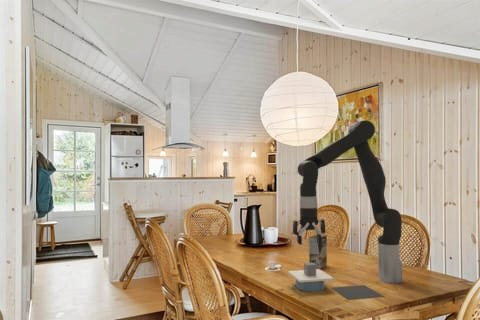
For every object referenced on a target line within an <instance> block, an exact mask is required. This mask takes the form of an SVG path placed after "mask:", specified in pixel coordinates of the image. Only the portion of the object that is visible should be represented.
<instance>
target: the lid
mask: <svg viewBox="0 0 480 320" xmlns="http://www.w3.org/2000/svg"><path fill="white" fill-rule="evenodd" d="M287 274H289V275H290V276H291V277H292V278H294V279H295V281H296V280H297V281H299V282H314V281H324V282H325V281H327V282H328V281H335V278H334V277H333V276H331V275H329V274H327V272H325V271H323V270H322V269H316V265H315V264H314V263H309V262H304V263H303V269H302V270H300V269H299V270H288V271H287Z"/></svg>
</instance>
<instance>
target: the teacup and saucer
mask: <svg viewBox="0 0 480 320" xmlns="http://www.w3.org/2000/svg"><path fill="white" fill-rule="evenodd" d="M281 268H282V265H281V264H276V261H275V260H274V261H273V260H270V261H269V262H268V263H267V267H265V268H264V270H265V271H269V272H270V271H271V272H277V271H280V270H281Z"/></svg>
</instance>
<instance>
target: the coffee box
mask: <svg viewBox="0 0 480 320" xmlns="http://www.w3.org/2000/svg"><path fill="white" fill-rule="evenodd" d="M327 237H328V236H327V235H323V234H322V235H321V242H320V244H318V243H317V234H316V235H312V236H309V237H308V253H309V254H308V255H309V256H308V257H309V258H308V259H309V260H308V263H314V264H315V265H316V269H320V270H322V269H323V268H325V267H327V266H328V249H327V247H328V245H327V241H328V240H327Z"/></svg>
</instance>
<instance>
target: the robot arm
mask: <svg viewBox="0 0 480 320" xmlns="http://www.w3.org/2000/svg"><path fill="white" fill-rule="evenodd" d="M375 133H376V128H375V125H374V123H373V122H372V121H370V120H359V121H355V122H352V123H350V125H349V126H348V134H346V135H344V136H343V137H341V138H339V139H337V140H336V141H333V142H332V143H329V144H328V145H326V146H325V147H323V148H322V149H320V150H318V151H317V152H316V153H315V154H313V155H311V156H309V157H308V158H305V159H304V160H302V161H301V162H300V163H299V164H298V166H297V173H298V174H299V176H301V177H302V183H301V184H300V186H299V195H300V196H299V220H295V219H294V220H293V221H292V235H295V236H296V238H297V241H296V242H297V244H298V245H300V246H302V245H303V240H302V239H303V237H302V234H303V233H304V232H305V231H310V230H311V231H314V232H315V233H316V235H317V243H318V244H320V242H321V235H323V234H326V233H327V232H326V231H327V230H326V222H325V219H323V218H320V219H318V198H317V183H318V179H319V169H320V168H324V167H327V166H328V165H329V164H331V163H332V162H334V161H335V160H336V159H338V158H340V156H342V155H344V154H345V153H346V152H348V151H349V150H351V149H354V151H355V154H356V157H357V161H358V163H359V164H358V165H359V167H360V171H361V174H362V176H363V180H364V181H363V182H364V183H365V187H366V189H367V193H368V198H369V200H370V205H371V211H372V215H373V216H372V217H373V219H374V222H375V224H376V225H377V226H378V227H380V228H382V229H383V231H382V232H383V233H382V234H381V235H379V236H378V238H377V256H378V258H377V260H378V280H379V281H380V282H383V283H386V284H395V285H396V284H397V285H398V284H401V283H403V261H402V260H401V250H400V247H401V245H400V241H401V238H402V223H403V220H402V215H401V213H400V212H399V210H398V209H395V208H391V207H388V205H387V202H386V199H385V190H386V183H387V182H386V181H387V179H386V176H385V175H386V174H385V172H384V168H383V166H382V164H381V162H380V160H379V159H378V158H377V156H376V155H375V154H374V153H373V151H372V149H371V147H370V144H369V140H370V139H372V138H373V137H374V135H375ZM318 224H319V227H320V228H319V227H318V226H317V225H318ZM299 225H300V227H298V226H299Z"/></svg>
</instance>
